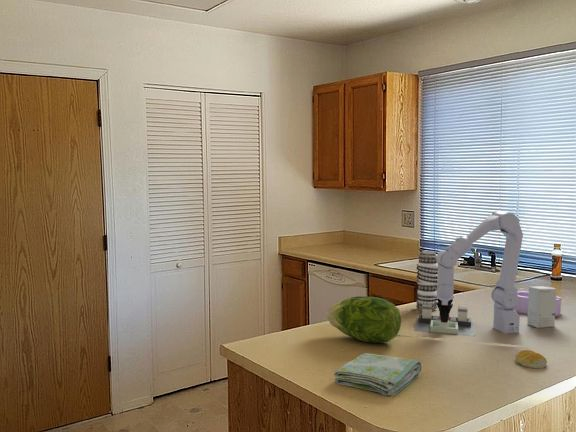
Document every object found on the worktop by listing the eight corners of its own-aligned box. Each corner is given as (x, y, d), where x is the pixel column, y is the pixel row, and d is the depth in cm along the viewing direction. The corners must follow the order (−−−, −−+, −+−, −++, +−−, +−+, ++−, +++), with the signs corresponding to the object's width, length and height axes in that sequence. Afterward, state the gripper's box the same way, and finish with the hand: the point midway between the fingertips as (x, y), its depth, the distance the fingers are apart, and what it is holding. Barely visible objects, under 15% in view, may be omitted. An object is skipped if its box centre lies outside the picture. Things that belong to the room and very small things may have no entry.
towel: (331, 385, 152) (331, 366, 151) (365, 363, 169) (366, 347, 169) (392, 400, 142) (392, 381, 141) (422, 375, 159) (423, 358, 159)
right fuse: (467, 325, 207) (467, 309, 206) (457, 325, 208) (458, 308, 207) (466, 323, 210) (467, 307, 210) (457, 322, 211) (457, 306, 211)
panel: (474, 338, 194) (475, 330, 194) (413, 333, 200) (414, 326, 200) (472, 324, 212) (472, 317, 212) (416, 319, 218) (417, 313, 218)
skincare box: (537, 328, 207) (539, 289, 206) (526, 324, 213) (527, 286, 212) (555, 326, 209) (557, 288, 208) (543, 322, 215) (545, 285, 214)
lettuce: (336, 329, 204) (336, 288, 203) (406, 340, 191) (407, 296, 190) (318, 339, 192) (318, 295, 190) (392, 352, 178) (393, 305, 177)
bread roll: (531, 358, 174) (532, 345, 174) (551, 368, 165) (552, 355, 165) (508, 360, 172) (509, 347, 172) (527, 370, 163) (527, 356, 163)
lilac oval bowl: (562, 312, 232) (563, 295, 232) (556, 318, 222) (557, 301, 222) (512, 305, 244) (513, 289, 244) (504, 310, 234) (505, 294, 234)
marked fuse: (448, 330, 200) (449, 313, 200) (438, 329, 201) (439, 313, 201) (448, 328, 204) (449, 311, 203) (439, 327, 205) (439, 310, 204)
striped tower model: (410, 310, 233) (412, 251, 231) (423, 306, 240) (425, 249, 238) (429, 314, 227) (430, 254, 225) (442, 310, 233) (443, 252, 231)
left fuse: (431, 323, 211) (431, 307, 210) (422, 322, 212) (422, 306, 211) (431, 320, 214) (431, 305, 213) (422, 320, 215) (422, 304, 214)
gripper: (434, 279, 209) (433, 314, 210) (433, 286, 195) (432, 324, 196) (454, 280, 207) (452, 315, 208) (454, 288, 193) (453, 326, 194)
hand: (444, 320), depth 202 cm, fingers open, 5 cm apart
